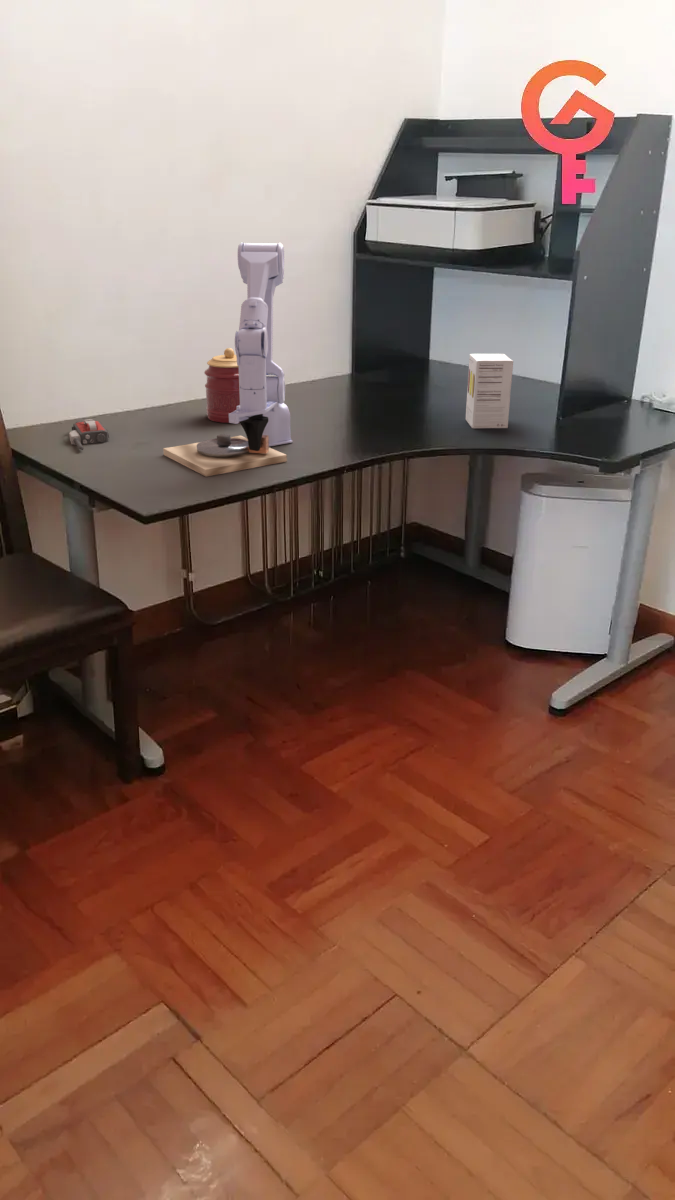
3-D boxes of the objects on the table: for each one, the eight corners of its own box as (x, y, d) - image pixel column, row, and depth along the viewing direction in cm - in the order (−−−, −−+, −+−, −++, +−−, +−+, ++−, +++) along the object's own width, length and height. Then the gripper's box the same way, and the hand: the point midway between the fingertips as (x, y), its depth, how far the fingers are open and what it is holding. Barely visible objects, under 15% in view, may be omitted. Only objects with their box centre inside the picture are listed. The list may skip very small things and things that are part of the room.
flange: (188, 454, 205) (187, 439, 204) (207, 440, 216) (206, 425, 215) (259, 459, 202) (259, 443, 201) (275, 445, 213) (274, 429, 211)
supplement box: (464, 419, 244) (468, 353, 237) (499, 419, 245) (504, 352, 238) (472, 429, 235) (476, 360, 228) (508, 428, 236) (514, 359, 229)
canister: (203, 423, 239) (200, 352, 231) (209, 411, 250) (206, 343, 243) (255, 423, 239) (253, 352, 232) (258, 411, 251) (256, 343, 243)
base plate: (241, 441, 223) (240, 420, 221) (286, 461, 208) (286, 439, 206) (163, 454, 213) (162, 433, 210) (206, 476, 198) (204, 453, 196)
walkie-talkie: (64, 434, 230) (77, 455, 214) (62, 416, 228) (75, 435, 212) (100, 430, 233) (116, 451, 217) (98, 412, 232) (114, 432, 215)
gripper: (258, 379, 208) (260, 440, 213) (216, 390, 196) (219, 454, 202) (284, 383, 204) (285, 444, 210) (243, 394, 193) (245, 459, 199)
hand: (254, 449), depth 206 cm, fingers closed
